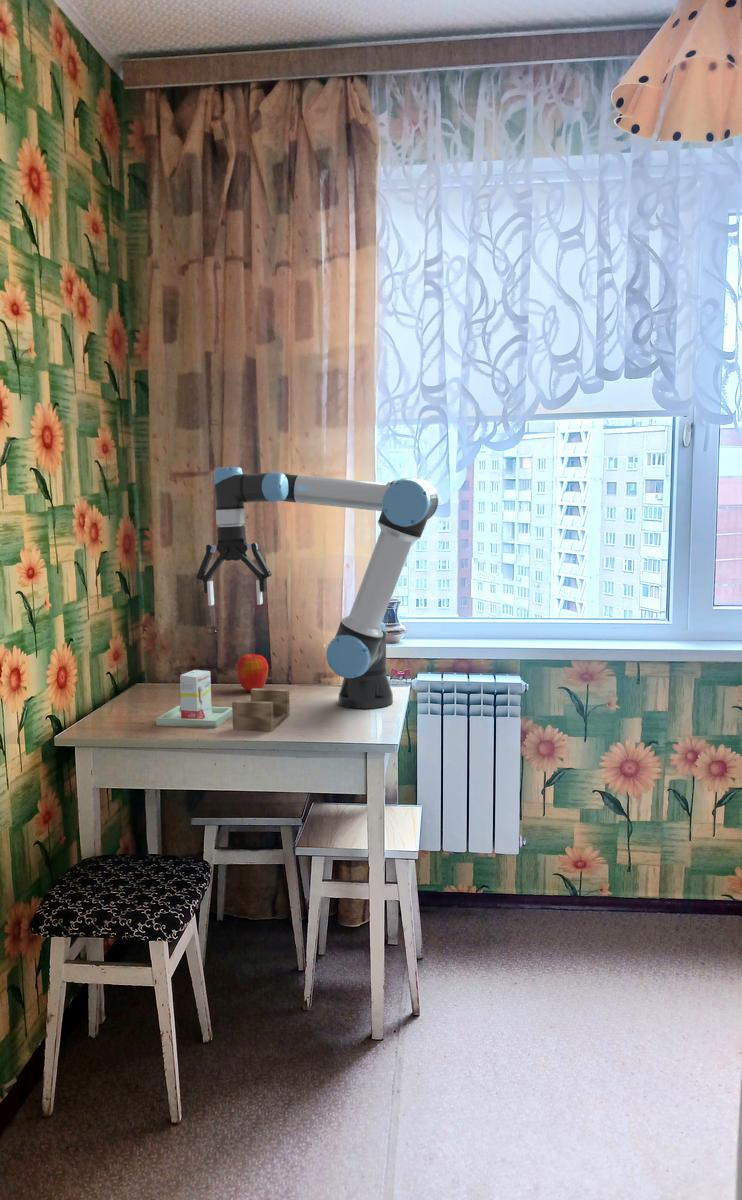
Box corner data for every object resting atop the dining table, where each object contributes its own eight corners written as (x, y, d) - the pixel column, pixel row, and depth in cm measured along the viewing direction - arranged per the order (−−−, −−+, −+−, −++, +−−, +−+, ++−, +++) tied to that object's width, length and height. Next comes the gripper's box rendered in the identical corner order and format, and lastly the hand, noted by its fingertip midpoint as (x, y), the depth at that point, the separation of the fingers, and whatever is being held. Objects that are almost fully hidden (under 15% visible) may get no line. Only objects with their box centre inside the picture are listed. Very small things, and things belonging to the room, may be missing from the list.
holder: (289, 715, 242) (289, 689, 241) (271, 731, 226) (270, 703, 226) (253, 713, 244) (253, 688, 243) (232, 729, 228) (232, 702, 228)
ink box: (197, 722, 234) (195, 676, 232) (180, 720, 235) (178, 675, 234) (212, 714, 242) (211, 670, 241) (196, 712, 243) (194, 669, 242)
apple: (233, 694, 268) (232, 653, 266) (243, 687, 276) (242, 648, 275) (263, 695, 266) (262, 654, 264) (272, 688, 275) (271, 649, 273)
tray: (234, 714, 244) (234, 707, 244) (215, 727, 230) (215, 720, 230) (178, 711, 247) (178, 705, 247) (156, 725, 234) (156, 718, 233)
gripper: (279, 523, 245) (284, 601, 248) (191, 526, 249) (196, 603, 252) (272, 524, 238) (277, 605, 241) (181, 527, 242) (186, 607, 244)
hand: (235, 604), depth 246 cm, fingers open, 13 cm apart
